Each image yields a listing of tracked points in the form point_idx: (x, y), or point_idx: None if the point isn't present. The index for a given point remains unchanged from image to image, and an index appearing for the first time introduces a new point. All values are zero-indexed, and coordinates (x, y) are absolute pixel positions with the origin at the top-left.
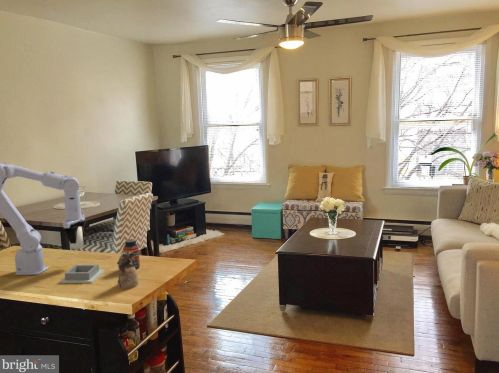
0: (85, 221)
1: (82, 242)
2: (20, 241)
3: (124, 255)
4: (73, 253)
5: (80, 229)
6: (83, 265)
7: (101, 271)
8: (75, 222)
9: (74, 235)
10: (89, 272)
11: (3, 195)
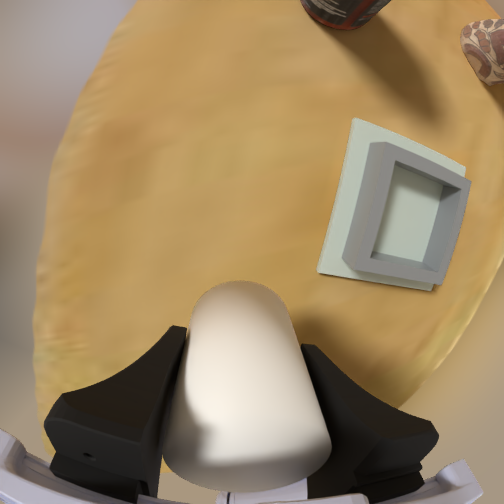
0: (85, 429)
1: (252, 300)
2: None
3: None
4: (58, 328)
5: (287, 400)
6: (376, 224)
7: (380, 130)
8: (414, 502)
9: (356, 392)
10: (465, 179)
11: None
